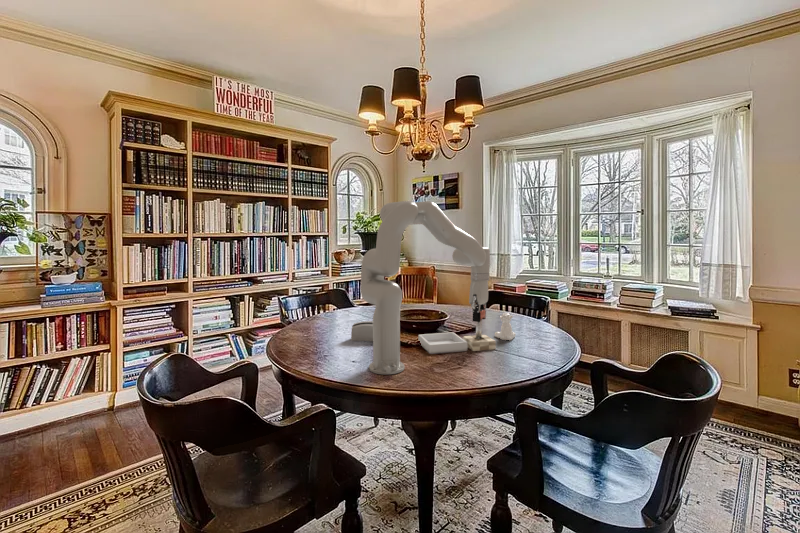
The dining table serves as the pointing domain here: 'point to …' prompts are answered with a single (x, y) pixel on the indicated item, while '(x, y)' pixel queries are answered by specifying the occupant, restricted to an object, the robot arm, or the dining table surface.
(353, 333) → the grey arched block
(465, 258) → the robot arm
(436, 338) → the tray
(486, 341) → the block
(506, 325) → the white creature statuette
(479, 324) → the handwheel pin
